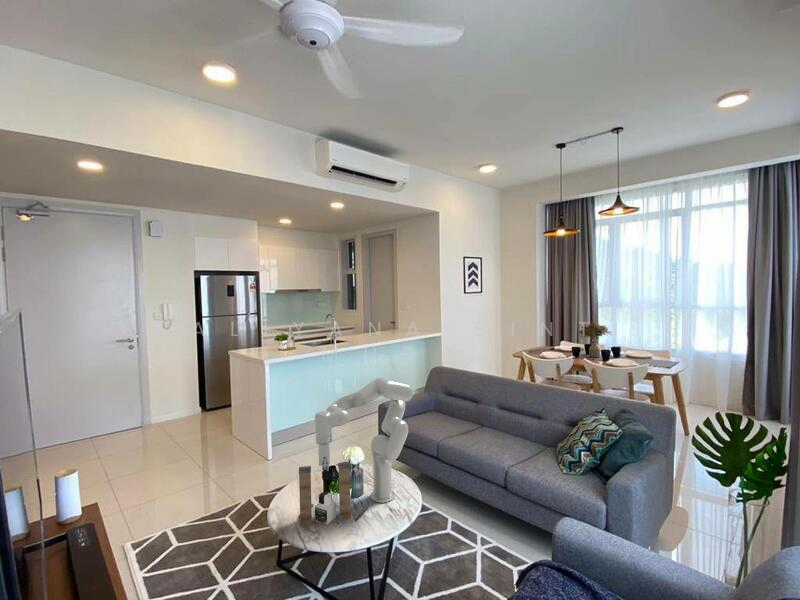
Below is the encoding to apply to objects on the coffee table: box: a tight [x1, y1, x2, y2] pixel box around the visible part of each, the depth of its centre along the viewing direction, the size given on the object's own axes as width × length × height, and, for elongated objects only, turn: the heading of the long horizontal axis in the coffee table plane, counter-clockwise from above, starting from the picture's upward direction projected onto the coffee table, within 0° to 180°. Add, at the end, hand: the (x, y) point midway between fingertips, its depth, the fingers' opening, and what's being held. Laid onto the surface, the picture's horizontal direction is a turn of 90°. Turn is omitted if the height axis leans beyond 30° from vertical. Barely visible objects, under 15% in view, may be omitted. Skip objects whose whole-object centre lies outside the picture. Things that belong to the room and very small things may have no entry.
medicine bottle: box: [314, 491, 337, 526], centre depth 179 cm, size 7×7×12 cm
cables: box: [298, 503, 368, 521], centre depth 184 cm, size 11×31×1 cm, turn 85°
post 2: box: [337, 461, 352, 521], centre depth 181 cm, size 5×5×25 cm
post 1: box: [298, 465, 313, 526], centre depth 177 cm, size 5×5×25 cm
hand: (325, 474), depth 179 cm, fingers open, 9 cm apart
